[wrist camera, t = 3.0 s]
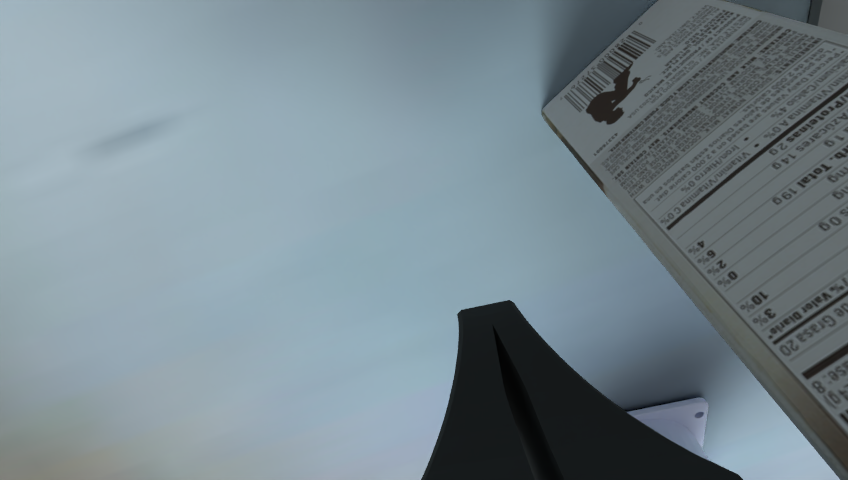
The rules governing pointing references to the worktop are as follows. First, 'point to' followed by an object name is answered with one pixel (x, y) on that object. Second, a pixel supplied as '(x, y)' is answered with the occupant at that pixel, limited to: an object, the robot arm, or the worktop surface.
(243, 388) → the worktop surface
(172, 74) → the worktop surface
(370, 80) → the worktop surface
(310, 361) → the worktop surface
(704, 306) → the coffee box
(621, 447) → the robot arm
